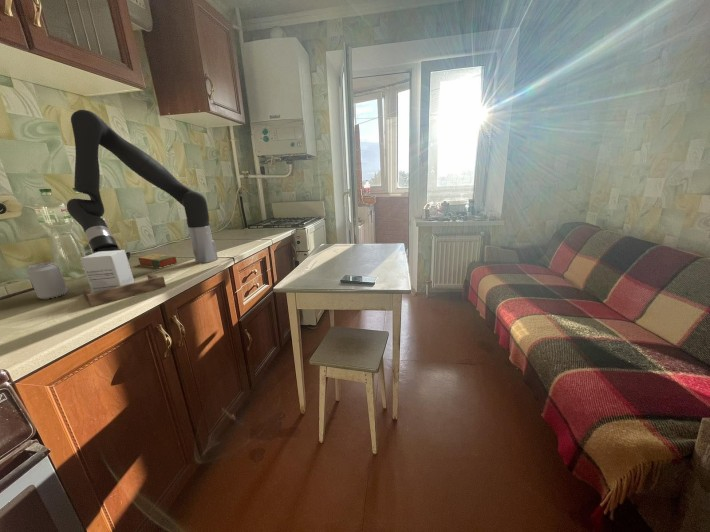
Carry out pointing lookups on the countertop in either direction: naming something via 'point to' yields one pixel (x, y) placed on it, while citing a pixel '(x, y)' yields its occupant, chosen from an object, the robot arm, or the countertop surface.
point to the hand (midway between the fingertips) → (119, 276)
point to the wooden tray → (124, 290)
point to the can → (47, 280)
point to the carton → (157, 260)
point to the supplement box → (107, 270)
